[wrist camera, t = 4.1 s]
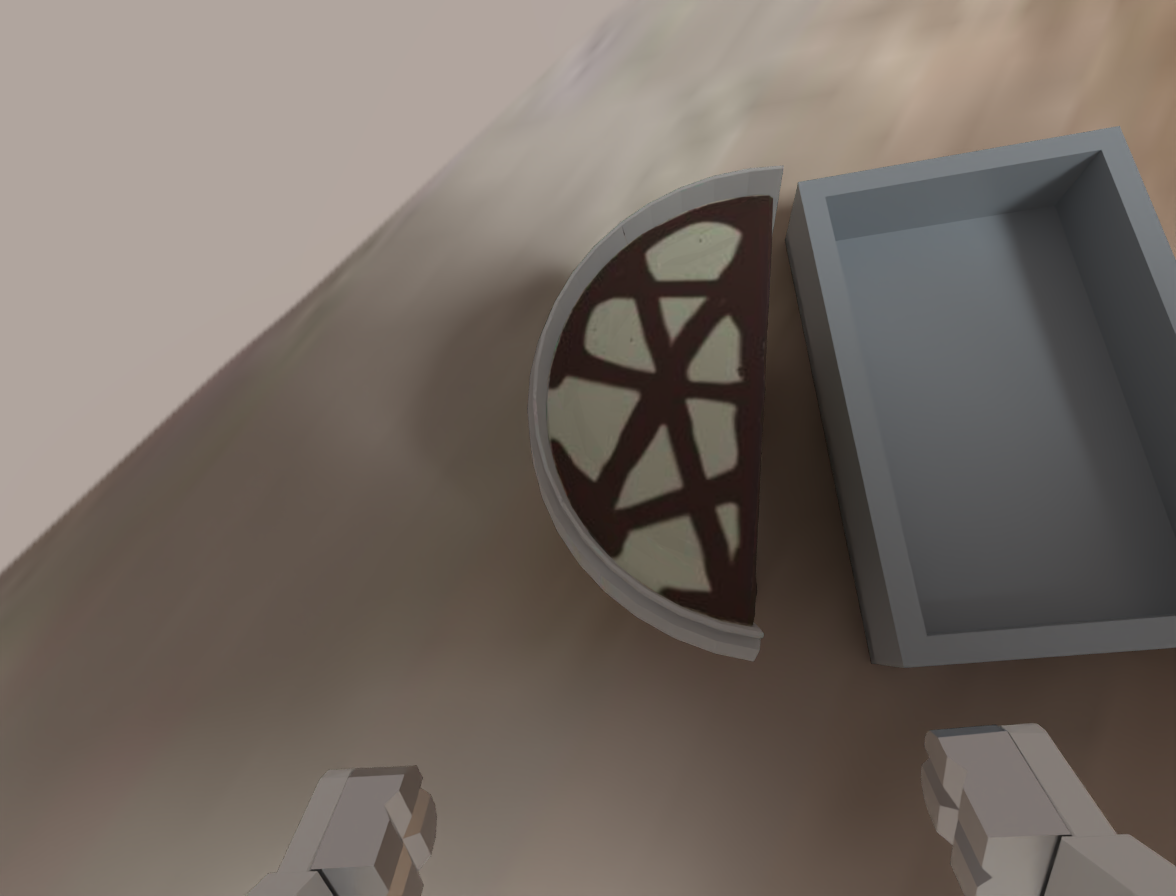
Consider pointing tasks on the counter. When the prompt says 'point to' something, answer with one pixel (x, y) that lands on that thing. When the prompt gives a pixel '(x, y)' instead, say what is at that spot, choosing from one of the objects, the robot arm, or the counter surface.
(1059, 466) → the tray
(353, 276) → the counter surface
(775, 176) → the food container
